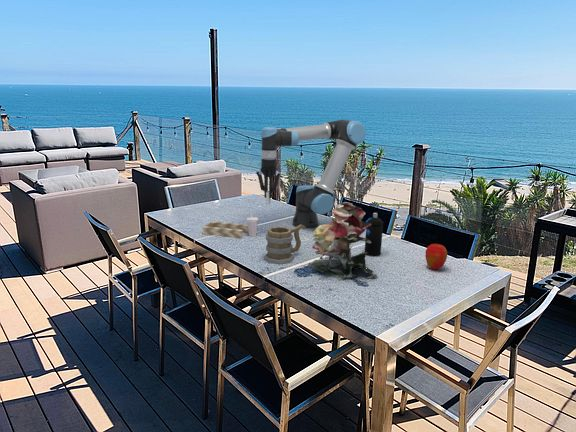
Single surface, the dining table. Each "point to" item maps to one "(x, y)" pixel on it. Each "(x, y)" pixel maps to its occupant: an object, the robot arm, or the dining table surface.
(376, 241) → the aerosol can
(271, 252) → the tankard
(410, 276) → the dining table surface
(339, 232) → the rose bouquet
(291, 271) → the dining table surface
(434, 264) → the apple
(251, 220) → the smoothie
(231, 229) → the braided bread loaf
